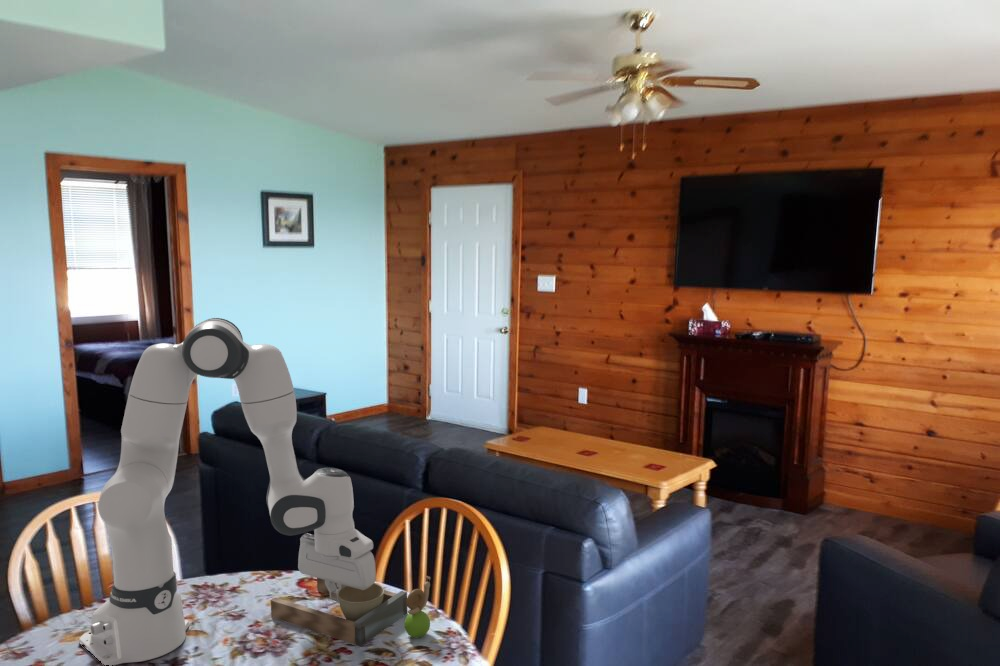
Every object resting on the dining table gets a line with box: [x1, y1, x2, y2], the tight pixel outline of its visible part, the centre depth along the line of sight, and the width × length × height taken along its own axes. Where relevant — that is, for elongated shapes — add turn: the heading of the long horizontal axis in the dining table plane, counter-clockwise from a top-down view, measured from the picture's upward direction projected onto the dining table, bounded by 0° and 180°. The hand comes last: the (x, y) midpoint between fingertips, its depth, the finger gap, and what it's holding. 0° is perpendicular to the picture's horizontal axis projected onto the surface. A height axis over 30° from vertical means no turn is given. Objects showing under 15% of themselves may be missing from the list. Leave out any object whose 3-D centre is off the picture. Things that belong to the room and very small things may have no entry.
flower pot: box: [338, 583, 385, 622], centre depth 156 cm, size 10×10×7 cm
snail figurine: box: [404, 575, 431, 639], centre depth 150 cm, size 5×6×12 cm
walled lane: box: [270, 578, 408, 647], centre depth 159 cm, size 26×16×5 cm, turn 61°
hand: (336, 598), depth 160 cm, fingers closed
